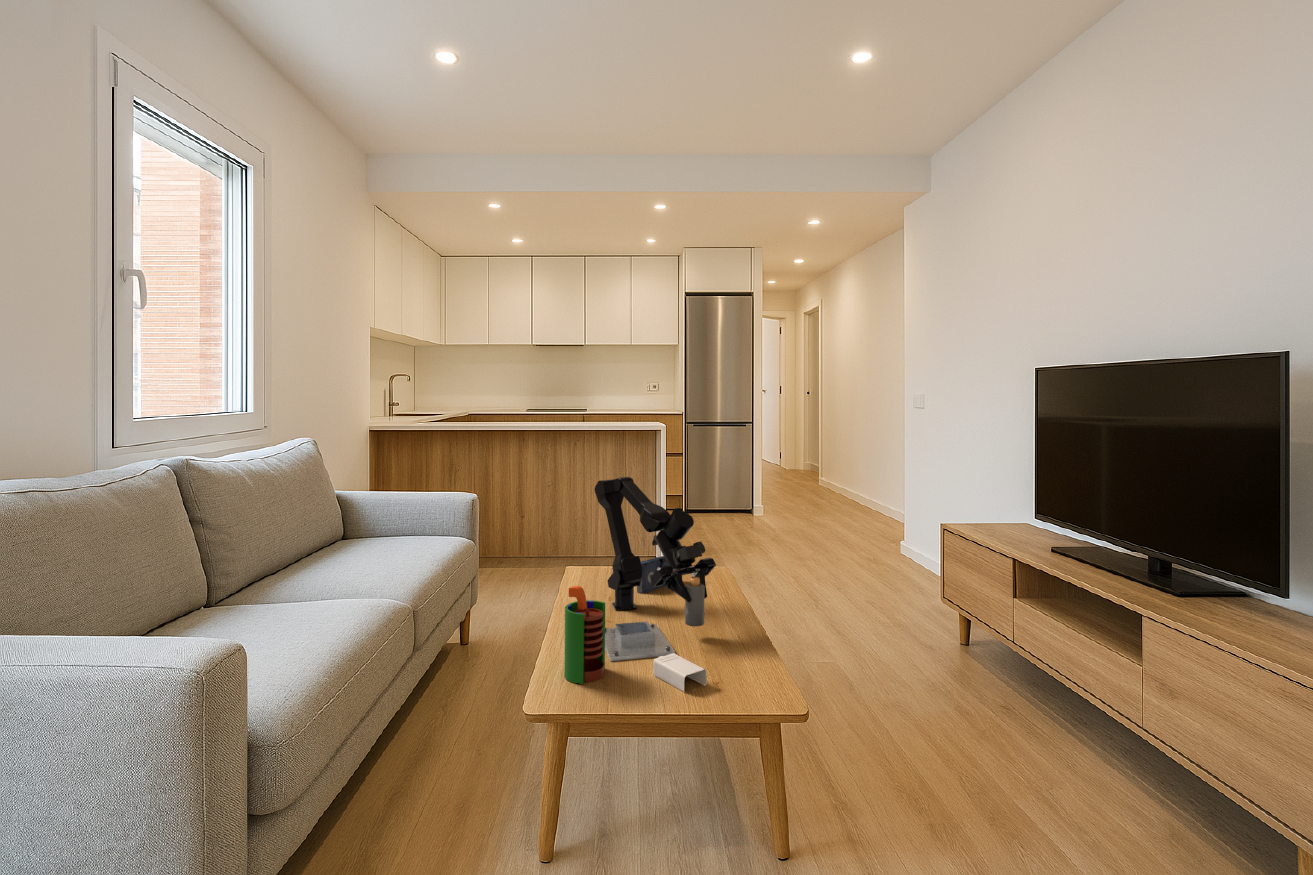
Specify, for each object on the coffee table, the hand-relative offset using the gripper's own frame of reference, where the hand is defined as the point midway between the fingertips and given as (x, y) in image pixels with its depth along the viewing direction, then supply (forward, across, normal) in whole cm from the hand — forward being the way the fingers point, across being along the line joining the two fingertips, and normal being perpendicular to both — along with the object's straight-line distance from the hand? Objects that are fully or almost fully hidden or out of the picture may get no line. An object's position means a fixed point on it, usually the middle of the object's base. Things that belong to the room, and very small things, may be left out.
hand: (698, 599), depth 171 cm
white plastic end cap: (+19, -19, -4) cm, 28 cm away
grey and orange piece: (+4, 0, +6) cm, 7 cm away
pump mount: (+2, -15, +13) cm, 20 cm away
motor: (+9, -35, +7) cm, 36 cm away
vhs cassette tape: (-24, +21, +40) cm, 51 cm away
